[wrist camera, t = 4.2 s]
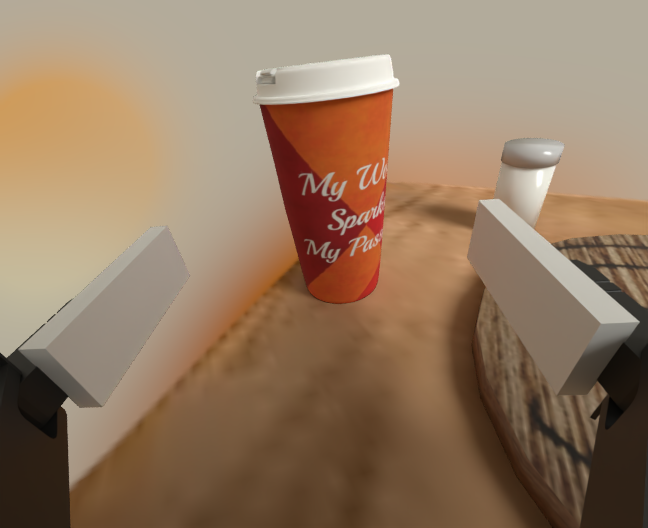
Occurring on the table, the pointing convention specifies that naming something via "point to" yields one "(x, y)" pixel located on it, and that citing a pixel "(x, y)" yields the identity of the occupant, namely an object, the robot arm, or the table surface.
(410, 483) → the table surface
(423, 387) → the table surface
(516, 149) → the salt shaker
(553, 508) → the trivet
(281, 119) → the paper cup
